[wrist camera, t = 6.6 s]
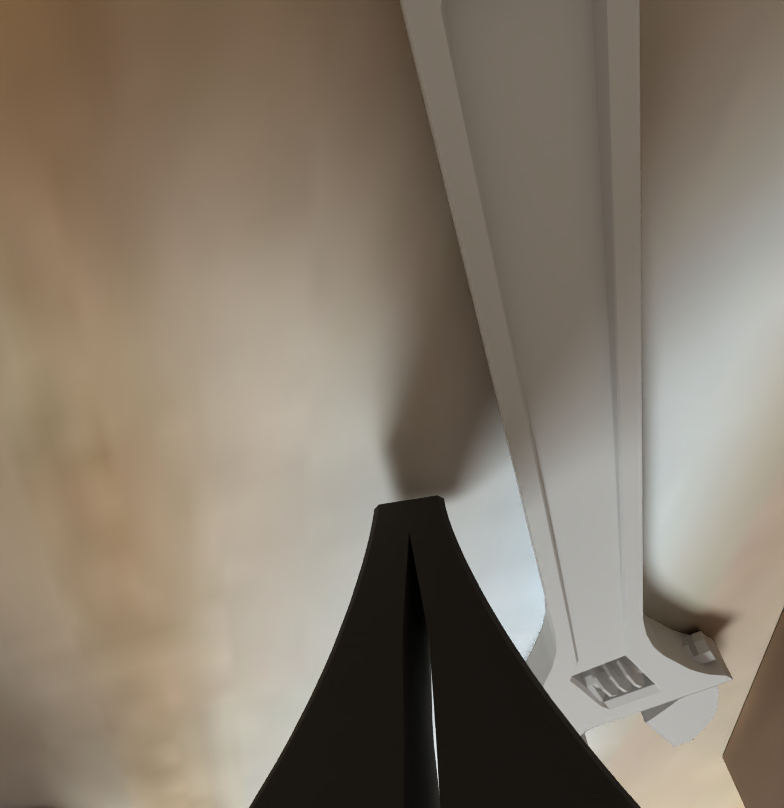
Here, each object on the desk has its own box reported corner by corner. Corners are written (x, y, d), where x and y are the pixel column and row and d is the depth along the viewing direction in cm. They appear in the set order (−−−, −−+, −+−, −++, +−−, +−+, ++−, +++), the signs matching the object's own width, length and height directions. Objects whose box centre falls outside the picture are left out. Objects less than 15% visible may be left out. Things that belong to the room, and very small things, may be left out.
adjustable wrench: (311, -330, 6) (294, -423, 4) (983, -537, 5) (1207, -720, 4) (506, 730, 21) (516, 785, 19) (687, 706, 20) (711, 761, 19)
